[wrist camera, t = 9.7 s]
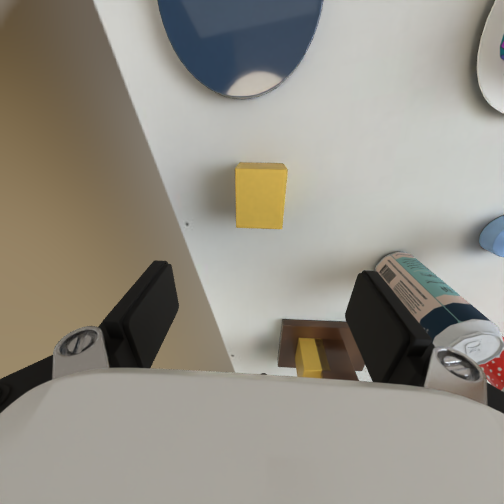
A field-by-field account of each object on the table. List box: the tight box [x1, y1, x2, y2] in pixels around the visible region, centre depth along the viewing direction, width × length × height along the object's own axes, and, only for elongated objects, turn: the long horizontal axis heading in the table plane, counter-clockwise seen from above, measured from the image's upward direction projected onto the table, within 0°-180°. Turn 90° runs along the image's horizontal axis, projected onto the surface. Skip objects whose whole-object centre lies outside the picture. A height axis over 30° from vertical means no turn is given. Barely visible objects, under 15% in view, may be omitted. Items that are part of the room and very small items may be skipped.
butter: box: [295, 338, 331, 378], centre depth 31 cm, size 4×5×5 cm
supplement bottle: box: [375, 252, 504, 365], centre depth 22 cm, size 5×5×12 cm
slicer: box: [278, 319, 365, 381], centre depth 29 cm, size 14×10×12 cm
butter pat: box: [235, 162, 288, 229], centre depth 21 cm, size 4×6×4 cm
